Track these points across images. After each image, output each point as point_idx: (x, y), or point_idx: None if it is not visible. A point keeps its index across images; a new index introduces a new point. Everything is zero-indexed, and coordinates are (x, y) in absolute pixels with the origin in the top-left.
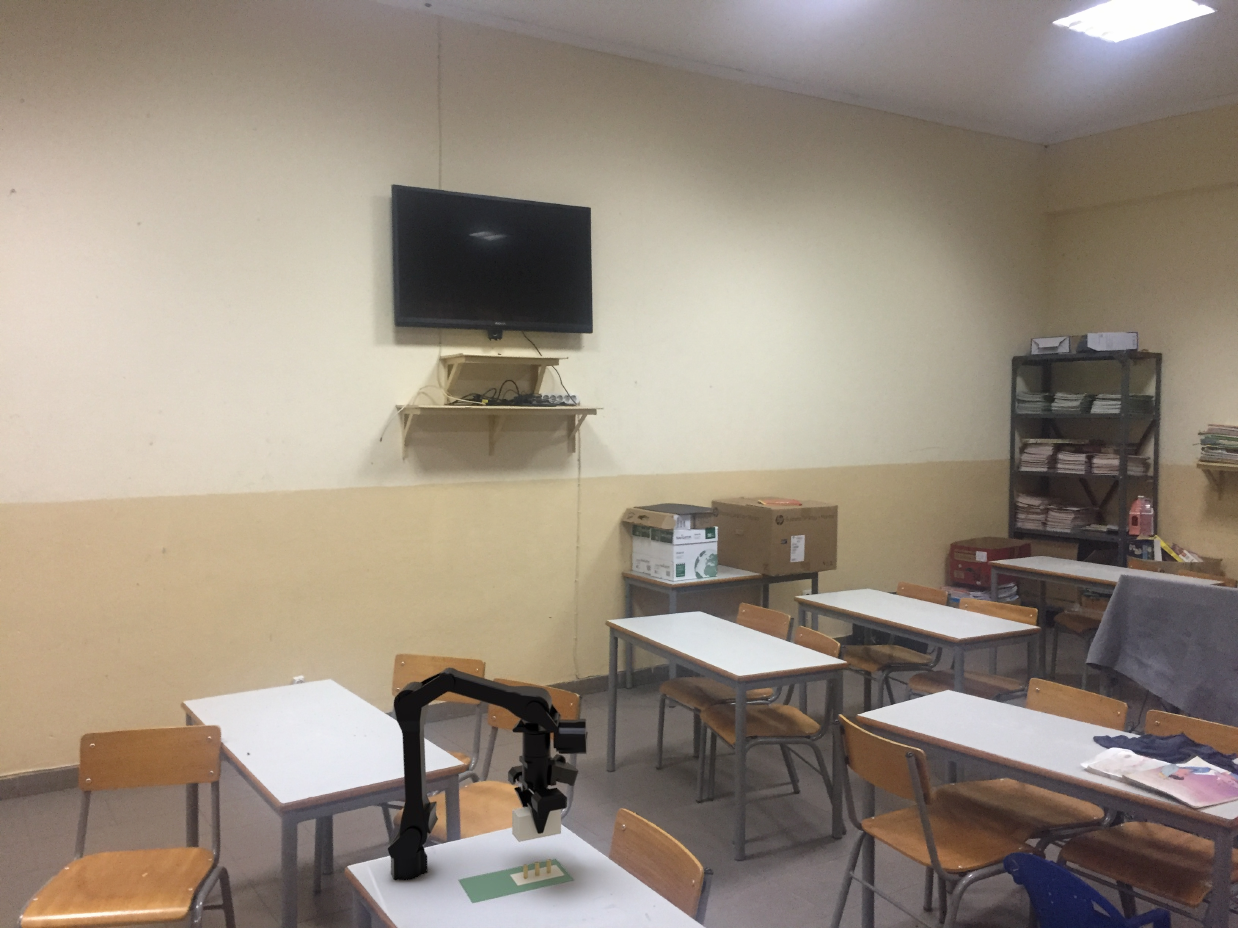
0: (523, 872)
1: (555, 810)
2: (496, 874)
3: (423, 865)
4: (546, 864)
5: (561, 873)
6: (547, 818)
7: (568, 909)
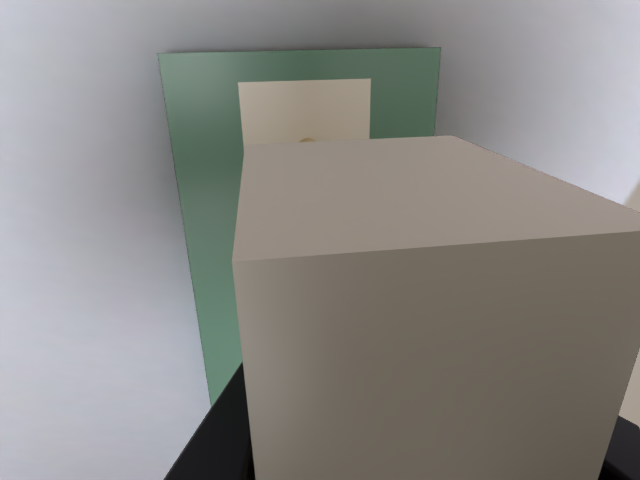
0: None
1: (632, 331)
2: (232, 366)
3: None
4: (212, 131)
5: (348, 89)
6: (635, 424)
7: (590, 152)
